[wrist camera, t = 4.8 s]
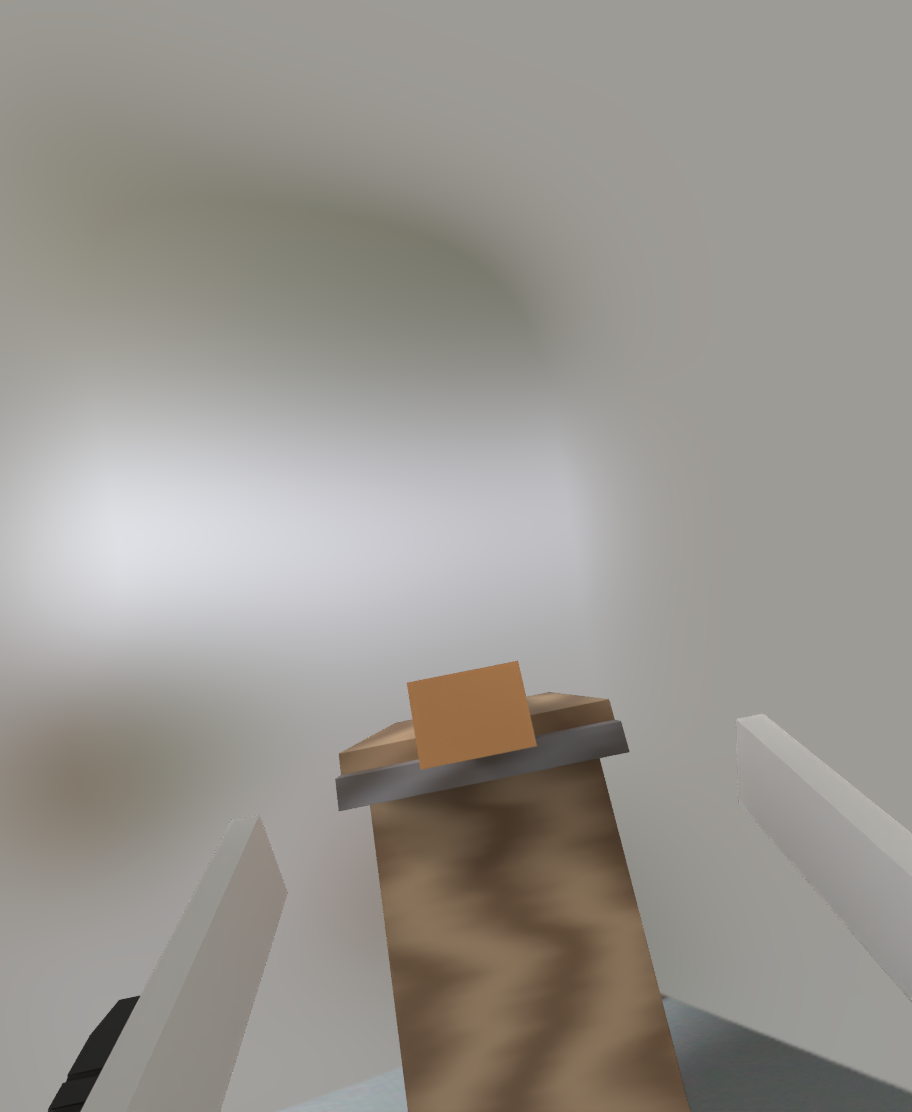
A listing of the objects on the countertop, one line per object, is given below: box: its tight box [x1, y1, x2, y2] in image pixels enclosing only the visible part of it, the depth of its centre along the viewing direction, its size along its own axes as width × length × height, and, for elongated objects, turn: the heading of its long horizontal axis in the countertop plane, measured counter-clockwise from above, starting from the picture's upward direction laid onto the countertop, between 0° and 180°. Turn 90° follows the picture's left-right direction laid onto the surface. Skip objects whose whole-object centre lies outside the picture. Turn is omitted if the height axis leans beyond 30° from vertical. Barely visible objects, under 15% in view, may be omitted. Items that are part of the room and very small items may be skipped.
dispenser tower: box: [336, 692, 690, 1112], centre depth 27 cm, size 14×19×30 cm
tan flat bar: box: [407, 661, 537, 770], centre depth 26 cm, size 4×26×2 cm, turn 178°
